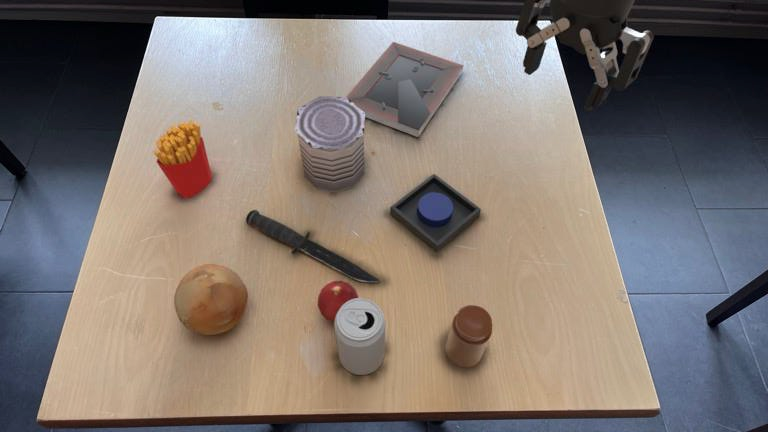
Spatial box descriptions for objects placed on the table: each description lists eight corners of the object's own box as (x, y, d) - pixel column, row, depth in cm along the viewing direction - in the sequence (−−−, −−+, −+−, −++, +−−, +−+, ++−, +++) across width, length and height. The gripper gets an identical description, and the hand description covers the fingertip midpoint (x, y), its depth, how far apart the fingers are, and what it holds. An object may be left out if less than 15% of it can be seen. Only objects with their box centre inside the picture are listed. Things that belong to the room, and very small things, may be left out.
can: (365, 144, 97) (364, 94, 88) (367, 191, 91) (366, 143, 81) (303, 146, 97) (296, 96, 87) (301, 194, 90) (293, 145, 80)
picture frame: (418, 139, 98) (462, 74, 110) (418, 129, 96) (463, 64, 108) (342, 110, 103) (392, 50, 114) (342, 100, 101) (393, 40, 112)
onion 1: (171, 330, 75) (146, 298, 67) (211, 275, 80) (193, 239, 72) (227, 357, 73) (209, 327, 65) (265, 299, 78) (253, 264, 70)
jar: (489, 350, 74) (503, 321, 66) (465, 375, 72) (476, 348, 64) (461, 325, 76) (471, 295, 68) (437, 349, 74) (445, 320, 66)
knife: (242, 225, 85) (245, 211, 84) (261, 217, 89) (264, 204, 88) (365, 299, 77) (371, 284, 76) (380, 287, 81) (385, 273, 80)
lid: (410, 212, 88) (410, 205, 86) (433, 193, 90) (434, 186, 88) (435, 233, 85) (436, 226, 84) (458, 213, 88) (460, 206, 86)
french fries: (185, 204, 88) (162, 156, 79) (169, 193, 90) (144, 144, 80) (221, 173, 93) (203, 124, 83) (205, 163, 94) (186, 114, 84)
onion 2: (330, 290, 79) (326, 263, 73) (365, 302, 78) (364, 276, 72) (313, 322, 76) (307, 297, 70) (349, 336, 75) (347, 312, 68)
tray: (479, 216, 88) (481, 209, 86) (436, 253, 84) (437, 246, 82) (432, 180, 92) (434, 173, 91) (390, 214, 88) (390, 206, 86)
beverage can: (375, 383, 71) (376, 349, 61) (332, 368, 72) (325, 333, 62) (390, 341, 75) (392, 303, 65) (348, 327, 76) (344, 288, 66)
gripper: (525, -62, 50) (493, 73, 63) (659, -1, 44) (594, 135, 58) (569, -86, 53) (530, 48, 67) (700, -32, 48) (629, 103, 61)
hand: (560, 88), depth 62 cm, fingers open, 8 cm apart
